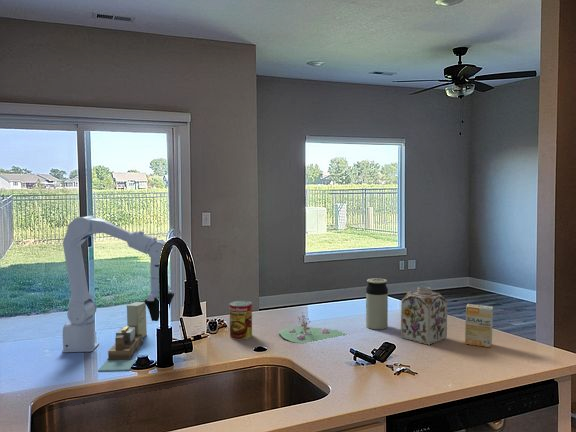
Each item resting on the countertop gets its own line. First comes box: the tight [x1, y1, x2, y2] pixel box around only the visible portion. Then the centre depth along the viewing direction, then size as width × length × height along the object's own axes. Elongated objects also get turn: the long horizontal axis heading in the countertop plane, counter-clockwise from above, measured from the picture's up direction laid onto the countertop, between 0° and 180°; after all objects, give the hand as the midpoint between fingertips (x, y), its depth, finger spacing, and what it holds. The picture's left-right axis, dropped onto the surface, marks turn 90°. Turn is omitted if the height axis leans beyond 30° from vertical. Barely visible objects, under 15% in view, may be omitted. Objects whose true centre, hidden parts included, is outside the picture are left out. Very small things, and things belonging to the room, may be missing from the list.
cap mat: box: [97, 359, 137, 373], centre depth 148 cm, size 9×8×1 cm
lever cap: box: [115, 325, 135, 345], centre depth 161 cm, size 4×6×5 cm
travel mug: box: [365, 277, 389, 331], centre depth 186 cm, size 8×8×18 cm
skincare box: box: [126, 301, 148, 339], centre depth 176 cm, size 6×4×12 cm
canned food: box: [229, 300, 253, 340], centre depth 176 cm, size 8×8×12 cm
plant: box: [278, 311, 348, 344], centre depth 178 cm, size 25×21×9 cm
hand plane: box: [106, 326, 144, 361], centre depth 161 cm, size 17×7×7 cm, turn 4°
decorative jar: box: [400, 286, 448, 346], centre depth 172 cm, size 12×12×18 cm
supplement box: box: [464, 303, 494, 348], centre depth 165 cm, size 8×5×13 cm, turn 62°
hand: (160, 317), depth 164 cm, fingers open, 7 cm apart
